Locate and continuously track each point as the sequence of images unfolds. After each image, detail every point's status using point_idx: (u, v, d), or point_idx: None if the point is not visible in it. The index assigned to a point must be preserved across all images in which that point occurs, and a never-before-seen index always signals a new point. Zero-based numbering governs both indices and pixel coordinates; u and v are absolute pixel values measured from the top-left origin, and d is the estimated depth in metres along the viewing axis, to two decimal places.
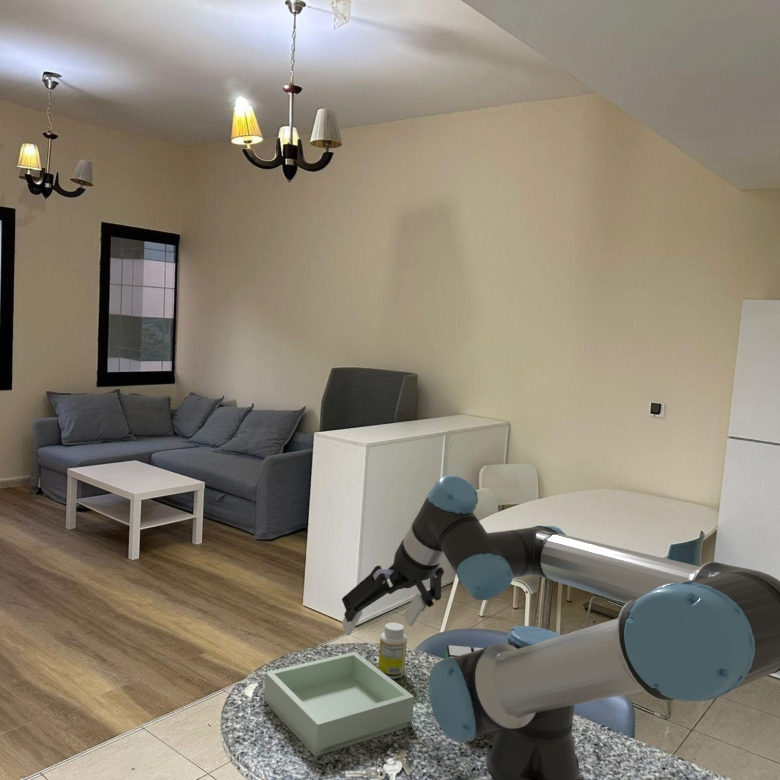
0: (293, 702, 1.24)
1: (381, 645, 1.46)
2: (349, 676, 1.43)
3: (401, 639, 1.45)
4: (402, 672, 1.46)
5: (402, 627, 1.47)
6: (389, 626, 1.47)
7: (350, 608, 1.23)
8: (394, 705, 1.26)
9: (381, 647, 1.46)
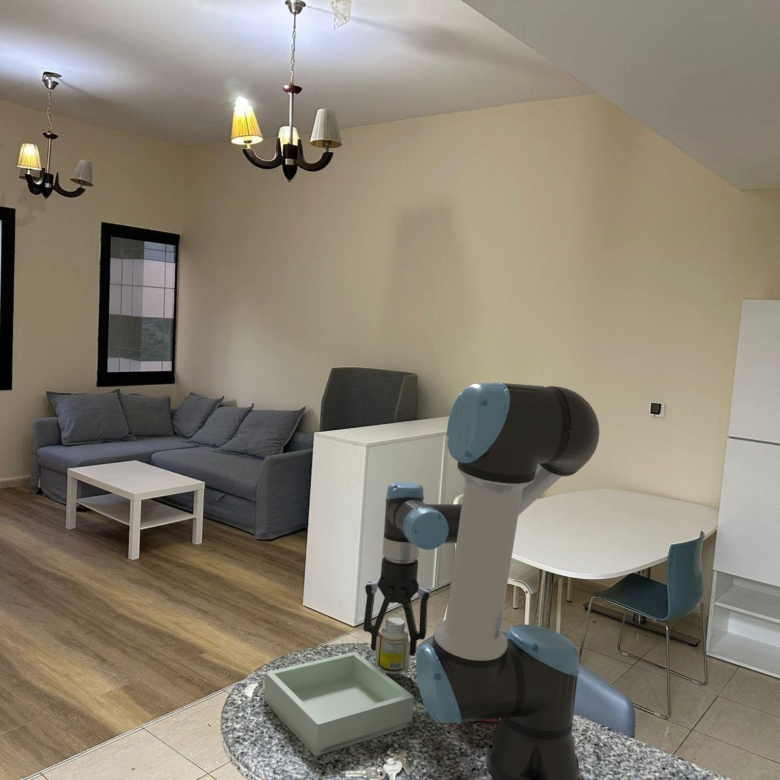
0: (293, 702, 1.24)
1: (382, 640, 1.45)
2: (349, 676, 1.43)
3: (402, 634, 1.45)
4: (403, 667, 1.45)
5: (403, 622, 1.46)
6: (390, 620, 1.46)
7: (365, 627, 1.46)
8: (394, 705, 1.26)
9: (382, 642, 1.45)
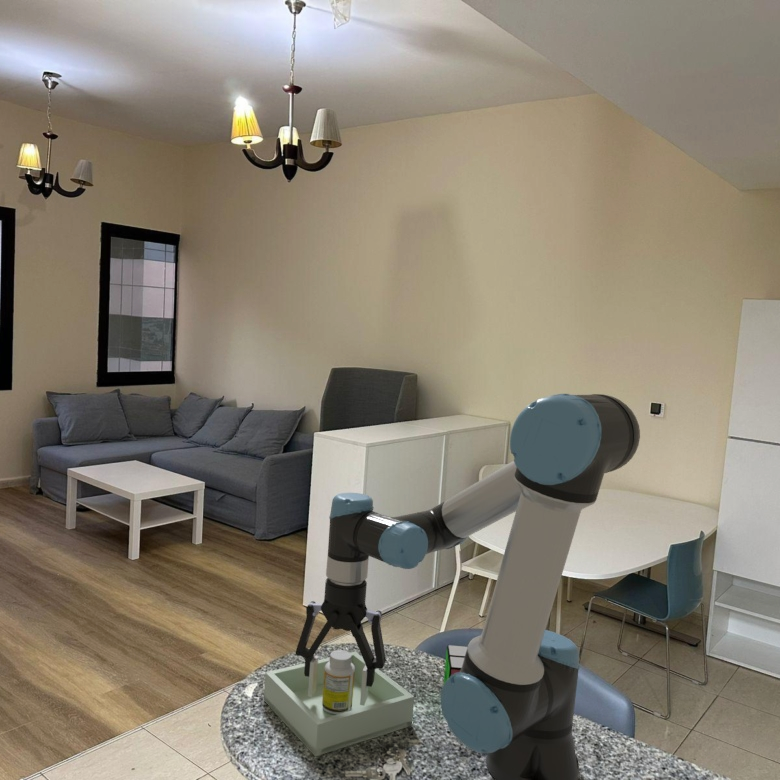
0: (293, 702, 1.24)
1: (325, 676, 1.29)
2: None
3: (348, 670, 1.28)
4: (349, 707, 1.29)
5: (349, 656, 1.29)
6: (335, 654, 1.30)
7: (298, 650, 1.30)
8: (394, 705, 1.26)
9: (325, 679, 1.29)
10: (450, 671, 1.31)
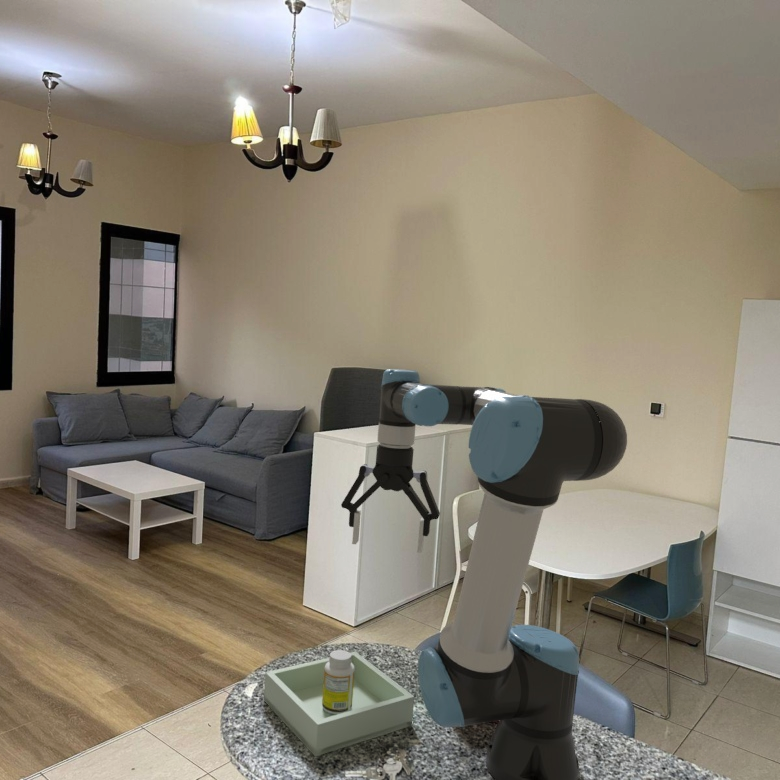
0: (293, 702, 1.24)
1: (325, 676, 1.29)
2: None
3: (347, 670, 1.28)
4: (349, 707, 1.29)
5: (349, 656, 1.29)
6: (335, 654, 1.30)
7: (344, 503, 1.46)
8: (394, 705, 1.26)
9: (325, 679, 1.29)
10: None
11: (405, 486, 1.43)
